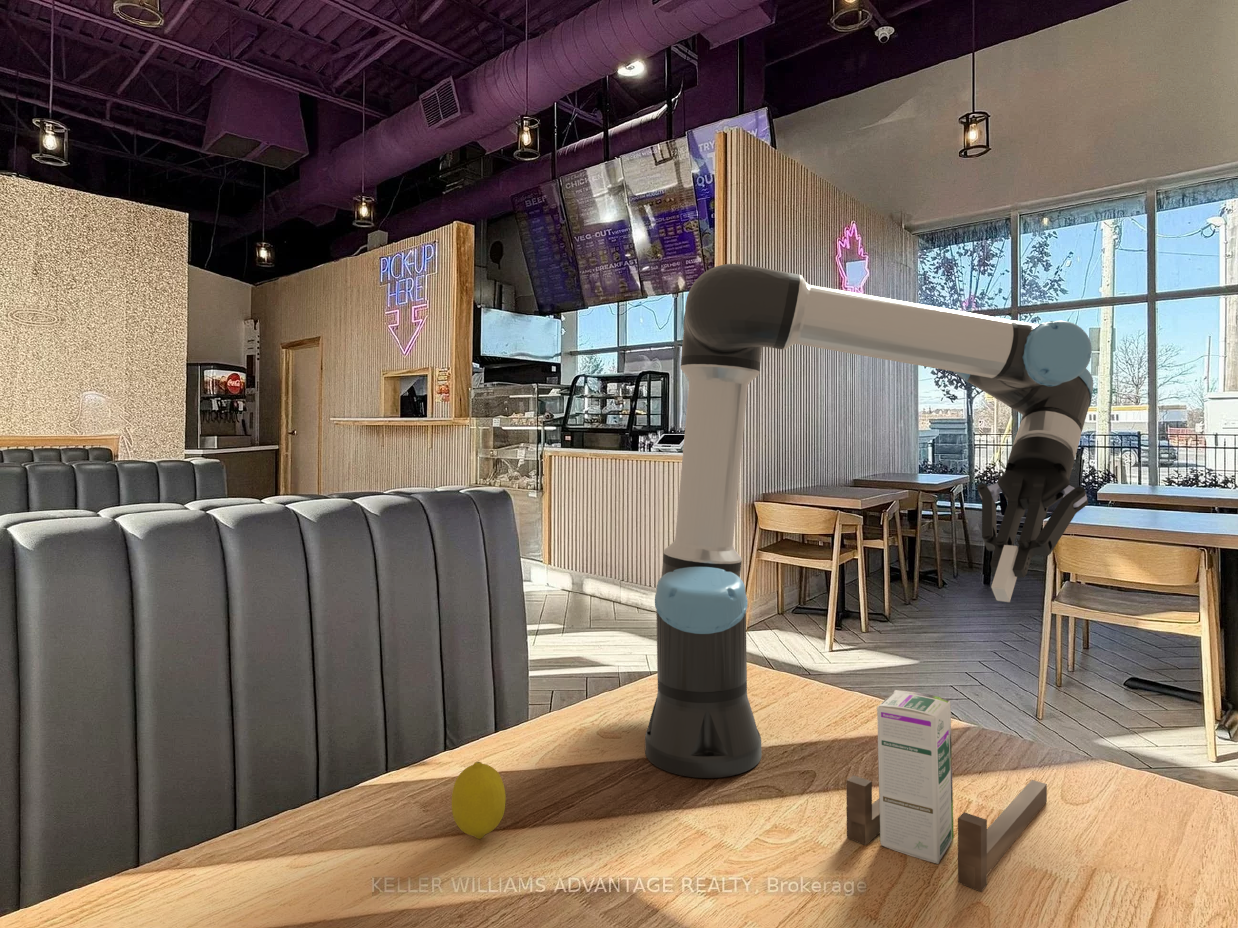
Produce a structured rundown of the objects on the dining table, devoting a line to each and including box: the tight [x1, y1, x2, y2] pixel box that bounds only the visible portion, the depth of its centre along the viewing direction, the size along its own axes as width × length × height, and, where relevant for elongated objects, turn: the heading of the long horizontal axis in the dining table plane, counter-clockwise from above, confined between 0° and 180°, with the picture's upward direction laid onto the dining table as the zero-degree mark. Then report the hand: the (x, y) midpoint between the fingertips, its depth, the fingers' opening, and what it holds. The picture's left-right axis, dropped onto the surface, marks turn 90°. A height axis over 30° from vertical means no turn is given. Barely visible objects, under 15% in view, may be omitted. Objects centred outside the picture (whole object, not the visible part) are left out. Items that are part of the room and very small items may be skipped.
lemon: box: [451, 761, 507, 840], centre depth 76 cm, size 6×6×8 cm
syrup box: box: [876, 689, 955, 865], centre depth 73 cm, size 6×6×14 cm
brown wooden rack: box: [845, 774, 1048, 893], centre depth 78 cm, size 13×22×6 cm, turn 135°
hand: (1000, 594), depth 88 cm, fingers closed
